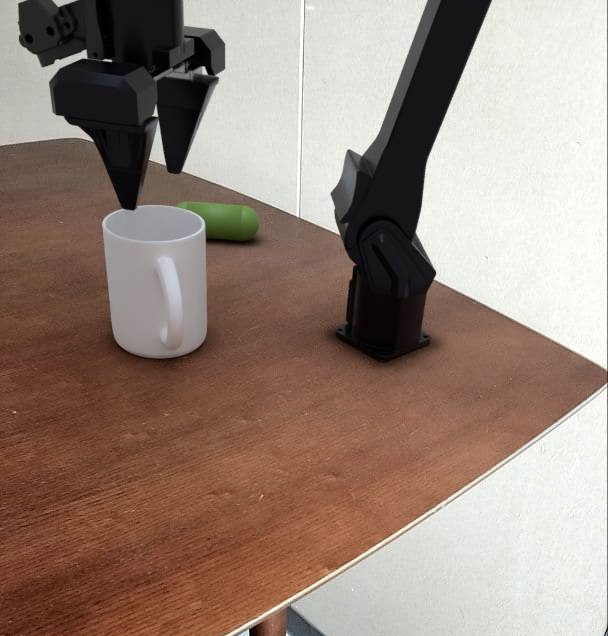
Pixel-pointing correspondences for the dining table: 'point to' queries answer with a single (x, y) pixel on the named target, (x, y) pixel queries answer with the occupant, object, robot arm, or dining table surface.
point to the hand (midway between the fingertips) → (152, 190)
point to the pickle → (225, 220)
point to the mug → (156, 279)
